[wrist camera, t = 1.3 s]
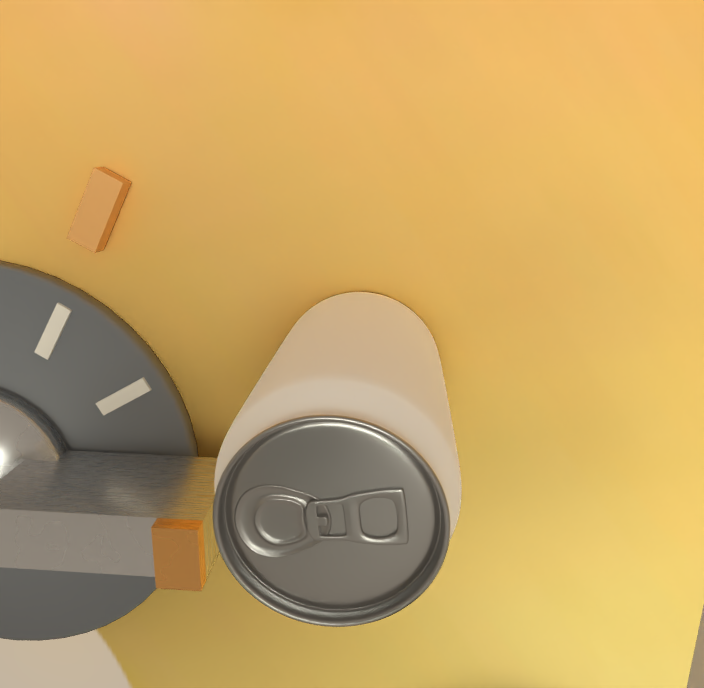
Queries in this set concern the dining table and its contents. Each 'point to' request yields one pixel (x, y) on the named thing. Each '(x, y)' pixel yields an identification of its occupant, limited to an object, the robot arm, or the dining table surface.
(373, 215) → the dining table surface
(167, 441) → the dial plate
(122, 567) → the dial
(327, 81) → the dining table surface
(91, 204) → the small orange block
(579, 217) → the dining table surface
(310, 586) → the can
